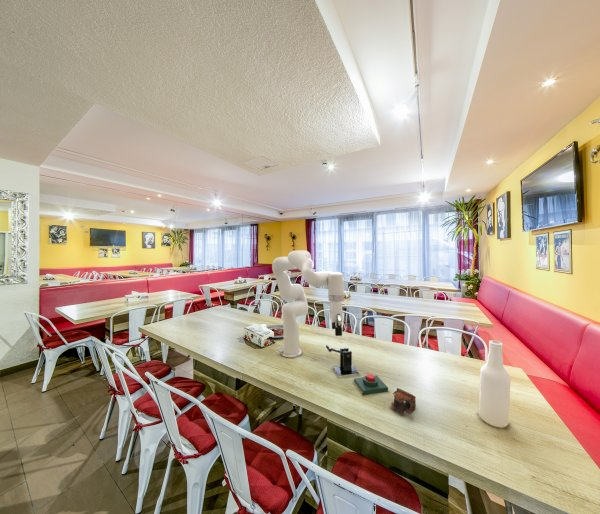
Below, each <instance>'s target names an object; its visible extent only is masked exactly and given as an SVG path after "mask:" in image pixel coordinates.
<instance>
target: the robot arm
mask: <svg viewBox="0 0 600 514" xmlns="http://www.w3.org/2000/svg"><path fill="white" fill-rule="evenodd" d="M271 263H272V264H271V270H272V273H273V276H274V277H275V280H276V283H277V287H278V292H279V296H280V298H281V300H283V301H289V302H286V303H284V304H282V306H281V316H282V323H283V324H282V325H283V329H284V337H283V344H282V346H280V347H279V346H277V347H275V351H277V352H278V353H281V356H283V357H285V358H288V359H289V358H290V359H291V358H293V359H294V358H297V357H299V356H301V355H302V353H303V350H302V349H301V348H300V324H299V321H298V320H297V318H298V317H301V316H305V315H307V314H308V312H309V304H308V300H307V296H306V293H305V289H304V287H303V286H302V285H301V284H300V283H292V281H291V277H290V276H289V274H288V273H287V272H286V271H290V270H292V271H293V270H299V271H300V272H301V276H302V279H303V280H304V282H306V283H307V284H308V285H309V286H311V287H313V288H322V287H327V288H328V289H327V290H328V302H329V319H330V321H331V329H332V330H334V336H335V337H342V336H343V325H342V323H343V302H344V301H345V283H344V282H345V281H344V280H345V279H344V278H345V277H344V274H343V273H342V272H334V271H329V270H327V271H326V270H325V271H317V272H316V271H314V270H313V268H314V261H313V260H312V255H311V253H310V252H309V251H308V250H306V249H305V250H303V249H300V250H298V249H297V250H292V251H290V252H289V253H288V254H287V256H279V257H276V258H274V259H273V261H272V262H271ZM292 300H295V301H292Z"/></svg>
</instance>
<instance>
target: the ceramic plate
mask: <svg viewBox="0 0 600 514" xmlns="http://www.w3.org/2000/svg"><path fill="white" fill-rule="evenodd" d="M266 327H267V328H268V329H270V330H272V331H273V332H274V337H273V338H275V339H276V338H284V329H283V324H273V325H267V326H266Z"/></svg>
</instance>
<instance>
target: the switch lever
mask: <svg viewBox="0 0 600 514" xmlns="http://www.w3.org/2000/svg"><path fill="white" fill-rule="evenodd" d="M325 348H326V349H327V351H328V352H329V353H332V352H335V353H339V354H340V353H341V354H342V355H343V352H346V350H343V351H340V349H337V348H333V347H330V345H328V344H326V345H325Z"/></svg>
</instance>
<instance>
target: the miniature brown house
mask: <svg viewBox="0 0 600 514" xmlns="http://www.w3.org/2000/svg"><path fill="white" fill-rule="evenodd" d="M392 395H393V401H392V402H391V403H390V404H391V405H390V406H391V409H392V410H393V411H394V412H395V413H397V414H399V415H400V416H404V415H405V413H406V414H407V415H411V414H413V413H414V412H415V410H416V406H417V403H416V402H417V401H416V398H417V397H416V395H414V394H412V393H410V392H408V391H405V390H403V389H401V388H398V387H396V390H395V391H394V392H393V393H392Z"/></svg>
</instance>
